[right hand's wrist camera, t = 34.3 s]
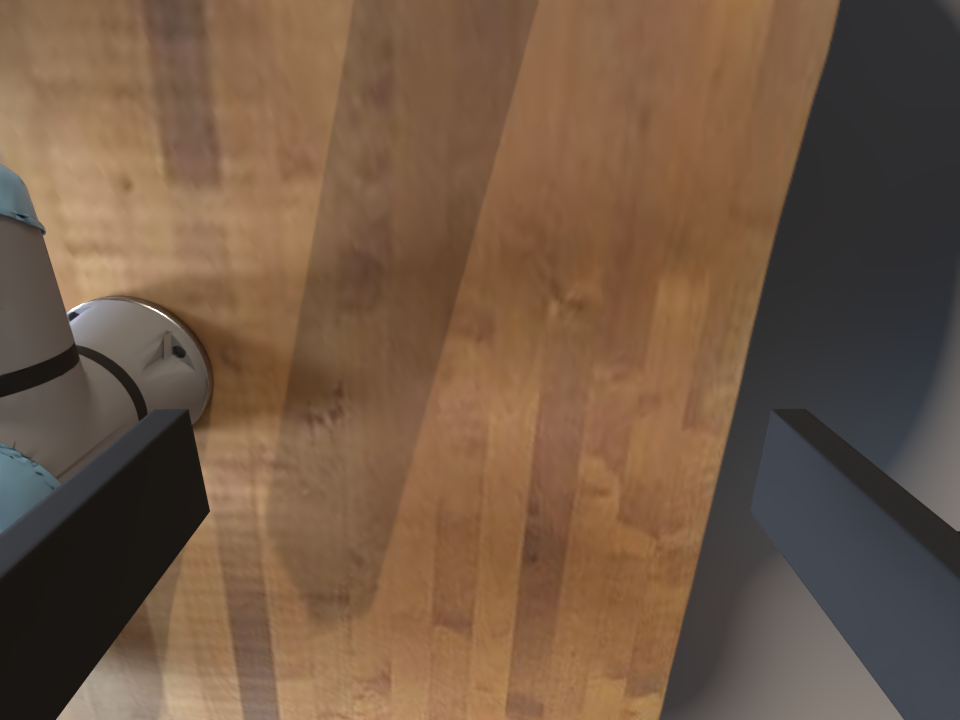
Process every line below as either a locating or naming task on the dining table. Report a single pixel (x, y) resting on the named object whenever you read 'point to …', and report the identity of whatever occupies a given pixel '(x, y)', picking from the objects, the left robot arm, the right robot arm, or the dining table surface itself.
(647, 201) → the dining table surface
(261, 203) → the dining table surface
